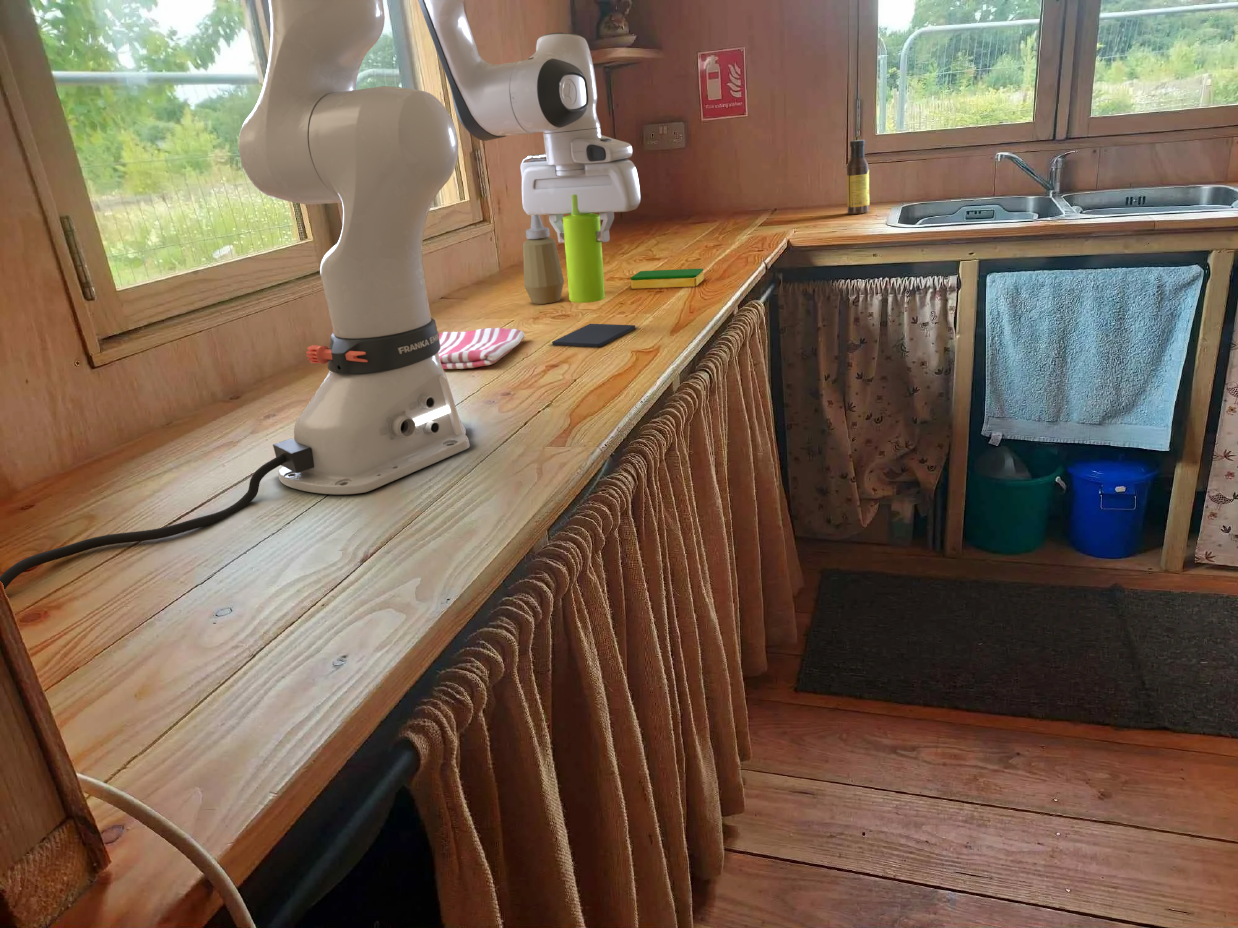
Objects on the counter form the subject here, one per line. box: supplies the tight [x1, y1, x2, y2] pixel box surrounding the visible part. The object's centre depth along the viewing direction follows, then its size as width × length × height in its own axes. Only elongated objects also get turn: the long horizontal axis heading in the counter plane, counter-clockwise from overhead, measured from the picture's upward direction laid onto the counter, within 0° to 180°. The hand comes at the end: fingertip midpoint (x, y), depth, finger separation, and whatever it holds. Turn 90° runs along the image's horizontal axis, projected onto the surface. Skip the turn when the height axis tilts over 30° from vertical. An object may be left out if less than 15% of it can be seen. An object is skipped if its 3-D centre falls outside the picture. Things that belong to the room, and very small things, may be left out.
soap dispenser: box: [562, 195, 606, 304], centre depth 139 cm, size 6×7×20 cm
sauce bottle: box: [846, 139, 871, 215], centre depth 249 cm, size 6×6×20 cm
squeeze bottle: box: [522, 215, 565, 305], centre depth 173 cm, size 8×8×18 cm
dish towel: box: [438, 327, 525, 370], centre depth 141 cm, size 17×23×4 cm
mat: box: [551, 323, 636, 348], centre depth 145 cm, size 12×9×1 cm
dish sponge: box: [630, 267, 705, 290], centre depth 180 cm, size 7×14×2 cm, turn 72°
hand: (584, 242), depth 139 cm, fingers closed on soap dispenser, 6 cm apart
